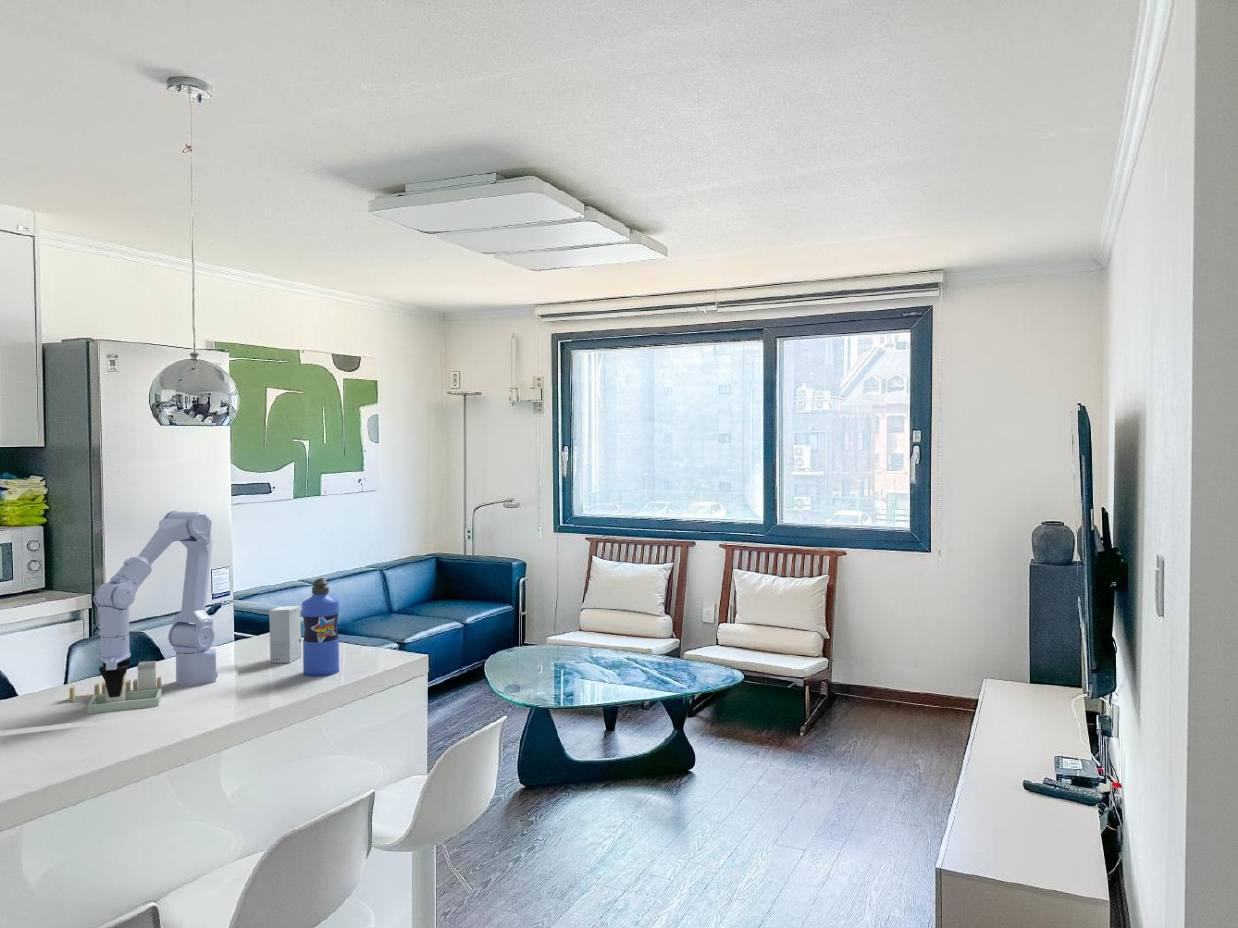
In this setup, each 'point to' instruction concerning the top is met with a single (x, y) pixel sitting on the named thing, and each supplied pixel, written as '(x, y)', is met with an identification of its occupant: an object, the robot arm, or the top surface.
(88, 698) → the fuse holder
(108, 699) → the marked fuse
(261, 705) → the top surface
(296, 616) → the skincare box
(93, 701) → the tray
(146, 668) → the fuse near base
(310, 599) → the blue bottle
